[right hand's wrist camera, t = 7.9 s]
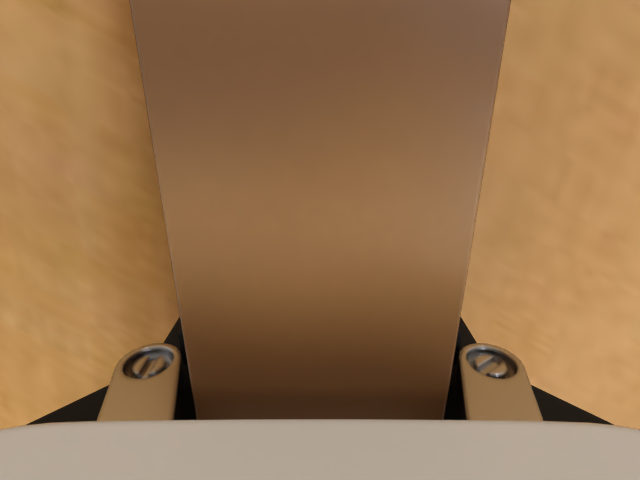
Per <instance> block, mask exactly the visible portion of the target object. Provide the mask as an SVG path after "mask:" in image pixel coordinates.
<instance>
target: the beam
mask: <svg viewBox="0 0 640 480" xmlns="http://www.w3.org/2000/svg"><path fill="white" fill-rule="evenodd" d="M510 3H511V0H130V6H131V12H132V19H133V25H134V31H135V38H136V44H137V50H138V56H139V63H140V69H141V75H142V81H143V88H144V94H145V100H146V106H147V113H148V119H149V125H150V131H151V138H152V144H153V150H154V156H155V163H156V169H157V175H158V181H159V188H160V194H161V200H162V206H163V213H164V219H165V225H166V231H167V238H168V244H169V250H170V256H171V263H172V269H173V275H174V281H175V288H176V294H177V300H178V306H179V313H180V319H181V325H182V331H183V338H184V344H185V350H186V356H187V363H188V369H189V375H190V381H191V388H192V394H193V400H194V406H195V413H196V419H197V420H263V419H375V420H444V415H445V409H446V403H447V396H448V390H449V384H450V378H451V371H452V365H453V359H454V353H455V346H456V340H457V334H458V328H459V321H460V315H461V309H462V303H463V297H464V290H465V284H466V278H467V272H468V265H469V259H470V253H471V247H472V240H473V234H474V228H475V222H476V215H477V209H478V203H479V197H480V190H481V184H482V178H483V172H484V165H485V159H486V153H487V147H488V140H489V134H490V128H491V122H492V115H493V109H494V103H495V97H496V91H497V84H498V78H499V72H500V66H501V59H502V53H503V47H504V41H505V34H506V28H507V22H508V16H509V9H510Z"/></svg>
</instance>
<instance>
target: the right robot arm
mask: <svg viewBox="0 0 640 480" xmlns="http://www.w3.org/2000/svg"><path fill="white" fill-rule="evenodd" d="M0 480H640V429H634V428H629V427H623V426H617V425H613V424H611V423H609V422H607V421H605V420H603V419H601V418H599V417H597V416H595V415H593V414H590V413H588V412H586V411H584V410H582V409H580V408H578V407H576V406H574V405H572V404H570V403H567V402H565V401H563V400H561V399H559V398H557V397H555V396H553V395H551V394H549V393H547V392H545V391H542V390H540V389H538V388H536V387H534V386H532V385H531V384H530V381H529V379H528V376H527V373H526V370H525V367H524V366H523V364H522V362H521V361H520V360H519V359H518V358H517V357H516V356H515V355H514V354H512V353H510V352H509V351H507V350H505V349H503V348H500V347H498V346H495V345H490V344H483V343H476V341H475V339H474V338H473V336H472V334H471V333H470V331H469V330H468V328H467V326H466V325H465V323H464V321H463V320H462V318H461V317H460V321H459V328H458V334H457V340H456V346H455V353H454V359H453V365H452V371H451V378H450V384H449V390H448V396H447V403H446V409H445V415H444V420H375V419H263V420H197V419H196V413H195V406H194V400H193V394H192V388H191V381H190V375H189V369H188V363H187V356H186V350H185V344H184V338H183V331H182V325H181V319H180V317H179V319H178V320H177V322H176V324H175V325H174V327H173V328H172V330H171V332H170V333H169V335H168V337H167V338H166V340H165V342H164V343H157V344H150V345H145V346H142V347H140V348H137V349H135V350H133V351H131V352H130V353H128V354H126V355H125V356H124V357H123V358H122V359H121V360H120V361H119V362H118V364H117V366H116V367H115V370H114V373H113V376H112V379H111V381H110V384H109V385H108V386H106V387H104V388H102V389H100V390H98V391H96V392H94V393H92V394H89V395H87V396H85V397H83V398H81V399H79V400H77V401H75V402H73V403H71V404H69V405H66V406H64V407H62V408H60V409H58V410H56V411H54V412H52V413H50V414H48V415H46V416H44V417H41V418H39V419H37V420H35V421H33V422H31V423H29V424H27V425H23V426H17V427H11V428H6V429H0Z"/></svg>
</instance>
